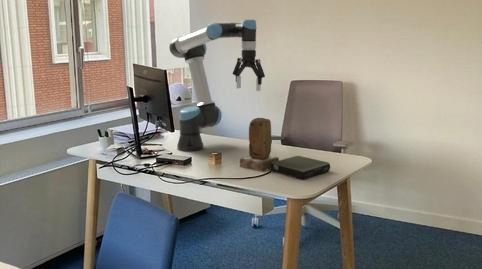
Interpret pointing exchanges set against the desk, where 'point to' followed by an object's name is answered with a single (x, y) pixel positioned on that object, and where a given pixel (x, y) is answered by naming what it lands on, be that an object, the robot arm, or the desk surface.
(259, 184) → the desk surface
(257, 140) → the block
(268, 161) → the plinth
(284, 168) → the network switch
